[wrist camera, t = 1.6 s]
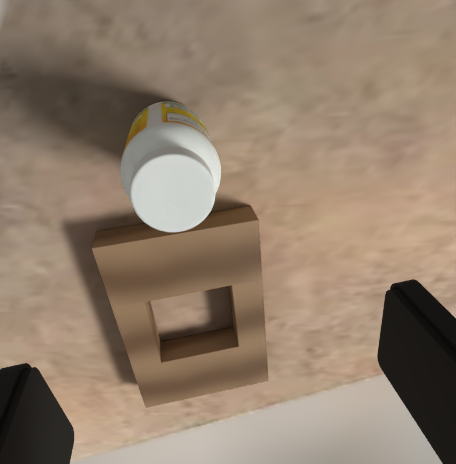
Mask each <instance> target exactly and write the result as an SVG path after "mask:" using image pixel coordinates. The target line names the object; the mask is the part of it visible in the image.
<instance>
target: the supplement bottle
mask: <svg viewBox="0 0 456 464" xmlns="http://www.w3.org/2000/svg"><path fill="white" fill-rule="evenodd" d="M120 174H121V181H122V185H123V188H124V190H125V192H126V194H127V196H128V197H129V199H130V200H131V203H132V206H133V208H134V210H135V212H136V213H137V215H138V216H139V217H140V218H141V219H142V220H143V221H144V222H145V223H146V224H148V225H149V226H151V227H153V228H155V229H157V230H160V231H165V232H181V231H185V230H188V229H191V228H193V227H195V226H197V225H198V224H200V223H201V222H202V221H203V220H204V219H205V218H206V217H207V216H208V214H209V213H210V211H211V209H212V207H213V205H214V202H215V194H216V192H217V190H218V187H219V183H220V178H221V165H220V160H219V157H218V154H217V152H216V149H215V147H214V145H213V143H212V141H211V139H210V137H209V135H208V133H207V131H206V128H205V126H204V124H203V123H202V121H201V119H200V118H199V117H198V116H197V114H196V113H195V112H193V111H192V110H191V109H189V108H188V107H186V106H184V105H182V104H179V103H175V102H158V103H155V104H152V105H150V106H148V107H146V108H145V109H143V110H142V111H141V112H140V113H139V114H138V115H137V117H136V118H135V120H134V121H133V123H132V126H131V128H130V131H129V135H128V138H127V142H126V145H125V149H124V152H123V156H122V160H121V167H120Z"/></svg>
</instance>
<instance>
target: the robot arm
mask: <svg viewBox="0 0 456 464" xmlns="http://www.w3.org/2000/svg"><path fill="white" fill-rule="evenodd" d="M378 362H379V365H380V367H381V369H382V371H383V372H384V374H385V375H386V377H387V378H388V380H389V381H390V383H391V384H392V386H393V388H394V389H395V391H396V392H397V394H398V395H399V397H400V398H401V400H402V401H403V403H404V404H405V406H406V408H407V409H408V410H409V412H410V414H411V415H412V417H413V418H414V420H415V421H416V423H417V425H418V426H419V427H420V429H421V431H422V432H423V434H424V435H425V437H426V438H427V440H428V441H429V443H430V444H431V446H432V448H433V449H434V451H435V452H436V454H437V455H438V457H439V458H440V460H441V461H442V463H443V464H456V318H455V317H454V316H453V315H452V314H451V313H450V312H449V311H448V310H447V309H446V308H445V307H444V306H443V305H442V304H440V303H439V302H438V301H437V300H436V299H435V298H434V297H433V296H432V295H431V294H430V293H429V292H428V291H427V290H426V289H425V288H424V287H423V286H422V285H421V284H420V283H419V282H418V281H417V280H414V279H413V280H408V281H404V282H399V283H394V284H392V285H391V288H390V290H388V291H387V292H386V294H385V302H384V310H383V317H382V325H381V332H380V340H379V348H378ZM73 444H74V430H73V427H72V425H71V423H70V422H69V420H68V418H67V417H66V415H65V413H64V412H63V410H62V408H61V407H60V405H59V403H58V402H57V400H56V398H55V397H54V395H53V393H52V392H51V390H50V388H49V387H48V385H47V383H46V382H45V380H44V378H43V377H42V375H41V373H40V372H39V370H38V369H37V368H36V367H34V368H32V367H31V366H30V365H29V364H27V363H25V364H20V365H15V366H11V367H6V368H2V369H0V464H70V459H71V454H72V449H73Z"/></svg>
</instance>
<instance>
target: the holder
mask: <svg viewBox="0 0 456 464" xmlns="http://www.w3.org/2000/svg"><path fill="white" fill-rule="evenodd" d="M92 251H93V254H94V257H95V260H96V263H97V266H98V269H99V272H100V275H101V277H102V280H103V283H104V286H105V289H106V292H107V295H108V298H109V301H110V304H111V307H112V310H113V313H114V316H115V319H116V322H117V325H118V328H119V331H120V334H121V337H122V339H123V342H124V345H125V348H126V351H127V354H128V357H129V360H130V363H131V366H132V369H133V372H134V375H135V378H136V381H137V384H138V387H139V390H140V393H141V396H142V398H143V401H144V404H145V407H146V408H147V407H152V406H156V405H161V404H165V403H170V402H174V401H179V400H183V399H188V398H192V397H197V396H202V395H206V394H211V393H215V392H220V391H224V390H229V389H233V388H238V387H242V386H247V385H252V384H256V383H261V382H265V381H268V366H267V350H266V333H265V317H264V300H263V284H262V267H261V251H260V234H259V220H258V218H257V216H256V214H255V212H254V211H253V209H252V207H251V206H246V207H240V208H234V209H228V210H222V211H216V212H210V213H209V214H208V216H207V217H206V218H205V219H204V220H203V221H202V222H201V223H200V224H198V225H197V226H195V227H193V228H191V229H188V230H185V231H181V232H165V231H160V230H157V229H155V228H153V227H151V226H149V225H148V224H146V223H144V224H138V225H132V226H126V227H120V228H114V229H108V230H102V231H97V232H96V235H95V239H94V242H93V246H92ZM226 286H229V292H230V300H231V308H232V317H233V325H234V327H231V328H226V329H221V330H216V331H211V332H206V333H201V334H197V335H192V336H187V337H182V338H177V339H172V340H167V341H162V342H161V341H160V337H159V334H158V330H157V326H156V322H155V318H154V315H153V311H152V307H151V303H150V301H152V300H157V299H162V298H168V297H173V296H178V295H184V294H189V293H194V292H199V291H205V290H210V289H215V288H221V287H226Z"/></svg>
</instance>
